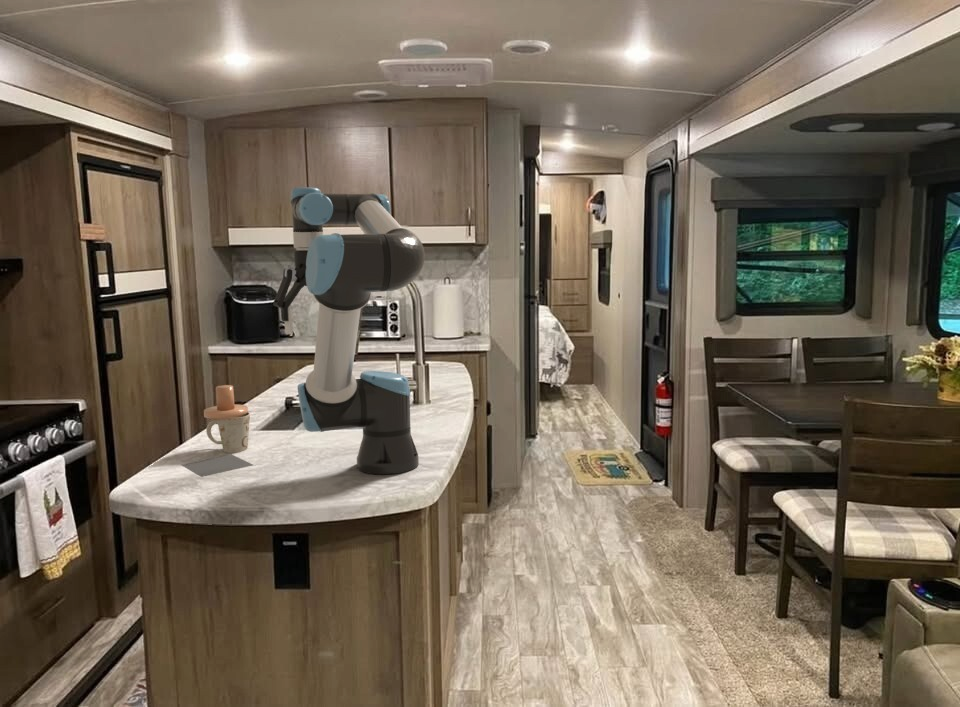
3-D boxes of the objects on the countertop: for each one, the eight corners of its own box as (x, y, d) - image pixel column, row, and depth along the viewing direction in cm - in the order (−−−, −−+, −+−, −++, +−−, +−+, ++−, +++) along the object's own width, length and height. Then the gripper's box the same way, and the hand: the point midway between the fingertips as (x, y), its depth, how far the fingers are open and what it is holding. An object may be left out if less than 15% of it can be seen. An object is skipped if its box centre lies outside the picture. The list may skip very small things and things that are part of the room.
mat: (253, 466, 184) (253, 464, 184) (201, 478, 175) (201, 476, 175) (231, 456, 194) (231, 454, 194) (181, 466, 185) (181, 464, 185)
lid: (255, 414, 197) (253, 386, 196) (214, 421, 189) (212, 392, 188) (237, 407, 205) (235, 381, 204) (197, 414, 198) (195, 386, 196)
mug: (242, 456, 193) (239, 418, 192) (198, 454, 196) (195, 417, 194) (257, 447, 201) (255, 411, 200) (215, 445, 204) (213, 410, 202)
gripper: (343, 248, 202) (346, 326, 205) (256, 250, 185) (261, 334, 188) (358, 248, 196) (361, 328, 199) (270, 250, 180) (275, 337, 183)
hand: (312, 331), depth 194 cm, fingers open, 13 cm apart
